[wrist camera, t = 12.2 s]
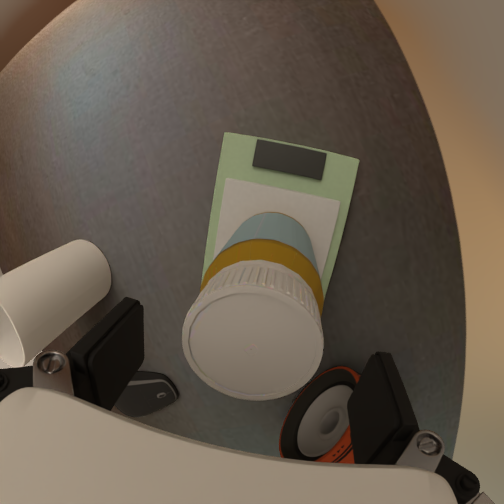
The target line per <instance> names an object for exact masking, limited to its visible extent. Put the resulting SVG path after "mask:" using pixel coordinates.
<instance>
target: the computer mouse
mask: <svg viewBox="0 0 504 504" xmlns="http://www.w3.org/2000/svg"><path fill="white" fill-rule="evenodd" d="M177 397H178V393H177V390H176V388H175V386H174V385H173V383H172V382H171V381H170V380H169V379H168V378H167V377H166V376H165V375H163V374H159V373H152V372H136V373H135V375H134V376H133V378H132V379H131V381H130V382H129V384H128V385H127V387H126V388H125V390H124V391H123V393H122V394H121V396H120V397H119V399H118V400H117V402H116V403H115V406H116V407H117V408H118V409H119V410H120V411H121V412H122V413H124V414H125V415H128V416H131V417H143V416H146V415H148V414H151V413H153V412H155V411H157V410H159V409H161V408H163V407H165V406H167V405H169V404H171V403H173V402H174V401H176V399H177Z"/></svg>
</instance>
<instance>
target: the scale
mask: <svg viewBox="0 0 504 504" xmlns="http://www.w3.org/2000/svg"><path fill="white" fill-rule="evenodd" d="M358 164H359V159H355V158H352V157H348V156H344V155H340V154H336V153H332V152H328V151H324V150H319V149H315V148H310V147H306V146H301V145H297V144H292V143H287V142H282V141H276V140H271V139H265V138H260V137H254V136H248V135H241V134H235V133H228V132H225V133H224V138H223V143H222V149H221V154H220V160H219V166H218V172H217V178H216V184H215V190H214V197H213V203H212V210H211V216H210V223H209V230H208V237H207V244H206V251H205V259H204V266H203V274H202V281H203V278H204V275H205V273H206V271H207V269H208V267H209V266H210V264H211V263H212V262H213V260H214V259H215V258H216V256H217V255H218V254H219V252H220V251H221V250H222V248H223V247H224V246H225V244H226V243H227V242H228V240H229V239H230V238H231V236H232V235H233V234H234V233H235V231H236V230H237V229H238V228H239V226H240V225H241V224H242V223H243V222H244V221H245V220H247V219H249V218H250V217H252V216H254V215H256V214H260V213H264V212H279V213H283V214H285V215H288V216H290V217H292V218H294V219H295V220H296V221H298V222H299V223H300V224H301V225H302V226H303V227H304V229H305V230H306V232H307V234H308V235H309V238H310V240H311V244H312V248H313V251H314V255H315V259H316V263H317V267H318V271H319V275H320V279H321V284H322V289H323V296H324V298H325V295H326V292H327V288H328V285H329V281H330V278H331V275H332V271H333V267H334V264H335V260H336V257H337V253H338V249H339V245H340V242H341V238H342V234H343V230H344V226H345V222H346V218H347V214H348V210H349V205H350V201H351V197H352V192H353V188H354V183H355V178H356V174H357V169H358ZM201 284H202V282H201Z"/></svg>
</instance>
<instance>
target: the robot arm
mask: <svg viewBox="0 0 504 504" xmlns="http://www.w3.org/2000/svg"><path fill="white" fill-rule="evenodd" d="M143 360H144V323H143V306H142V305H140V302H139V301H138V300H135V299H132V298H128V297H125V298H124V299H123V300H122V301H121V302H120V303H119V304H118V305H117V306H115V307H114V308H113V309H112V310H111V311H110V312H109V313H108V314H107V315H106V316H105V317H104V318H103V319H102V320H101V321H100V322H98V323H97V324H96V325H95V326H94V327H93V328H92V329H91V330H90V331H89V332H88V333H87V334H86V335H85V336H83V337H82V338H81V339H80V340H79V341H78V342H77V343H76V344H75V345H74V346H73V347H72V348H71V349H70V350H69V351H68V352H67V353H66V354H64V353H62V352H61V351H57V350H47V351H44V352H41V353H40V354H38V355H37V356H36V357H35V359H34V362H33V366H26V367H17V368H8V369H0V504H494V502H492V500H491V499H490V498H489V497H488V496H487V495H486V494H485V493H484V492H482V493H481V494H480V493H479V489H480V483H479V480H478V478H477V477H476V476H475V474H473V473H472V472H471V471H468V470H467V469H466V468H464V467H462V466H461V465H459V464H458V463H456V462H454V461H453V460H451V459H450V458H448V457H447V456H445V455H443V453H444V450H445V445H444V442H443V440H442V438H441V437H440V436H439V435H438V434H436V433H435V432H433V431H430V430H419V427H418V423H417V420H416V417H415V415H414V412H413V409H412V406H411V404H410V401H409V398H408V395H407V393H406V390H405V388H404V385H403V382H402V380H401V377H400V375H399V372H398V370H397V367H396V365H395V362H394V360H393V358H392V355H391V354H390V353H386V352H376V353H375V355H374V354H373V355H371V356H370V358H369V360H368V362H367V364H366V367H365V369H364V371H363V373H362V375H361V377H360V379H359V381H358V382H357V384H356V386H355V388H354V390H353V392H352V394H351V396H350V398H349V400H348V402H347V411H348V418H349V425H350V432H351V439H352V447H353V455H354V464H344V463H327V462H314V461H304V460H295V459H287V458H280V457H273V456H266V455H260V454H255V453H249V452H244V451H239V450H234V449H229V448H225V447H220V446H216V445H212V444H208V443H204V442H200V441H197V440H193V439H189V438H186V437H182V436H179V435H176V434H172V433H169V432H166V431H163V430H160V429H157V428H154V427H151V426H148V425H145V424H143V423H140V422H137V421H134V420H132V419H129V418H126V417H124V416H121V415H119V414H116V413H114V412H111V409H112V408H113V406H114V405H115V403H116V402H117V400H118V399H119V397H120V396H121V394H122V393H123V391H124V390H125V388H126V387H127V385H128V384H129V382H130V381H131V379H132V378H133V376H134V375H135V373H136V372H137V370H138V369H139V367H140V366H141V364H142V363H143Z"/></svg>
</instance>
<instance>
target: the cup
mask: <svg viewBox="0 0 504 504" xmlns="http://www.w3.org/2000/svg"><path fill="white" fill-rule="evenodd" d="M110 286H111V271H110V267H109V264H108V262H107V260H106V258H105V256H104V255H103V253H102V252H101V251H100V249H99V248H98V247H96V246H95V245H94V244H93V243H91V242H89V241H86V240H81V239H79V240H74V241H72V242H70V243H68V244H66V245H63V246H61V247H59V248H57V249H55V250H53V251H50V252H48V253H46V254H44V255H42V256H40V257H38V258H36V259H34V260H32V261H30V262H28V263H26V264H24V265H22V266H20V267H18V268H16V269H14V270H12V271H10V272H8V273H6V274H4V275H2V276H1V277H0V358H1V359H2V360H3V361H4V362H5V363H6V364H8V365H9V366H11V367H13V368H17V367H23V366H25V365H26V364H27V363H28V362H29V361H30V360H31V359H32V358H33V357H35V356H36V355H37V354H38V353H39V352H40V351H41V350H43V349H44V348H45V347H46V346H47V345H48V344H49V343H50V342H52V341H53V340H54V339H55V338H56V337H57V336H58V335H60V334H61V333H62V332H63V331H64V330H65V329H67V328H68V327H69V326H70V325H71V324H72V323H74V322H75V321H76V320H77V319H78V318H80V317H81V316H82V315H83V314H84V313H86V312H87V311H88V310H89V309H90V308H92V307H93V306H94V305H95V304H96V303H98V302H99V301H100V300H101V299H103V298H104V297H105V296H106V295H107V293H108V292H109V290H110Z"/></svg>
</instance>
